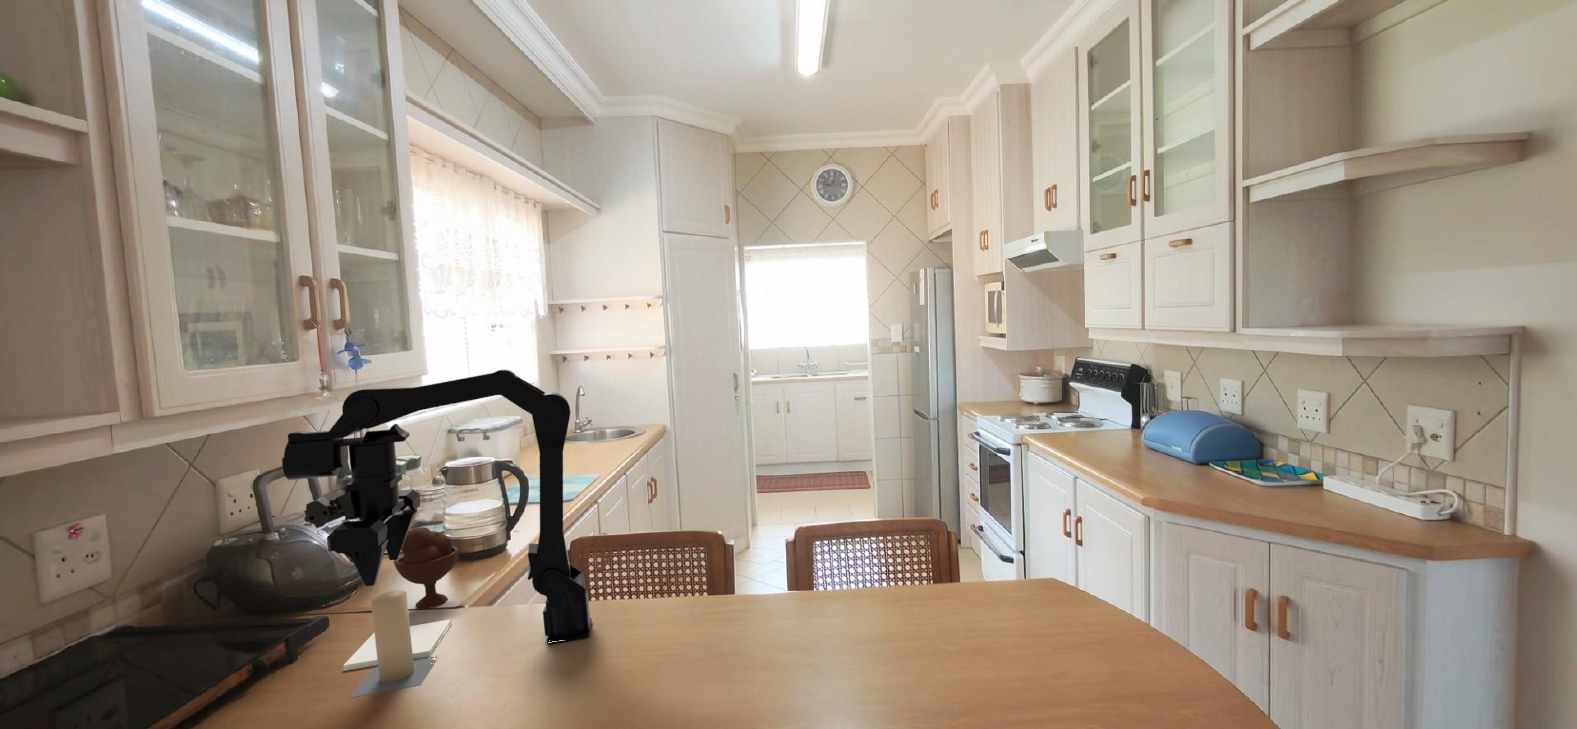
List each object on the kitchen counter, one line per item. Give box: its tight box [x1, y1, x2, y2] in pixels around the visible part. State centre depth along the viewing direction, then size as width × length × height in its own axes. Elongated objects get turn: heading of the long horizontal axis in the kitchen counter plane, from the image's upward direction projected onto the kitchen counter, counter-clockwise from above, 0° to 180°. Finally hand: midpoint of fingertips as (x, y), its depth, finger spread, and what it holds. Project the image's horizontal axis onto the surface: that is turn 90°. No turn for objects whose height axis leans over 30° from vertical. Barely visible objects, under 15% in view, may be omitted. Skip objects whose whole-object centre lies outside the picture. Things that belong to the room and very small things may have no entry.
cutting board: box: [343, 618, 453, 672], centre depth 104 cm, size 12×12×1 cm
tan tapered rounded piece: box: [370, 589, 414, 684], centre depth 94 cm, size 4×4×12 cm
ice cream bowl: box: [392, 526, 460, 610], centre depth 122 cm, size 11×11×15 cm
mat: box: [349, 655, 438, 699], centre depth 94 cm, size 9×9×1 cm
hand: (382, 572), depth 96 cm, fingers open, 9 cm apart
